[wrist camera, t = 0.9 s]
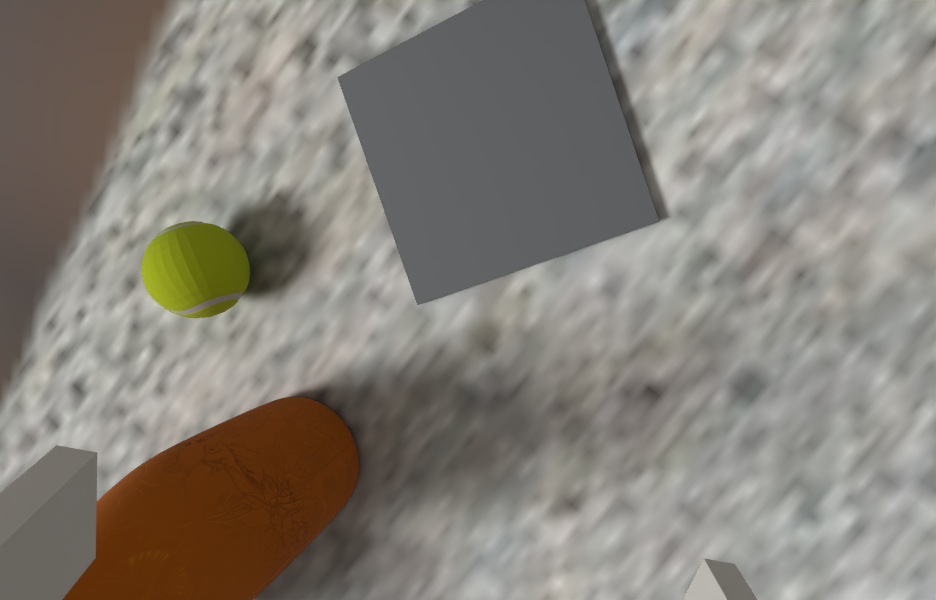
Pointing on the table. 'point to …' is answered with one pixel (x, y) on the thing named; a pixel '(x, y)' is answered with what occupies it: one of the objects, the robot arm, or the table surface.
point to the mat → (497, 143)
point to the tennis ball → (195, 269)
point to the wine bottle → (223, 507)
